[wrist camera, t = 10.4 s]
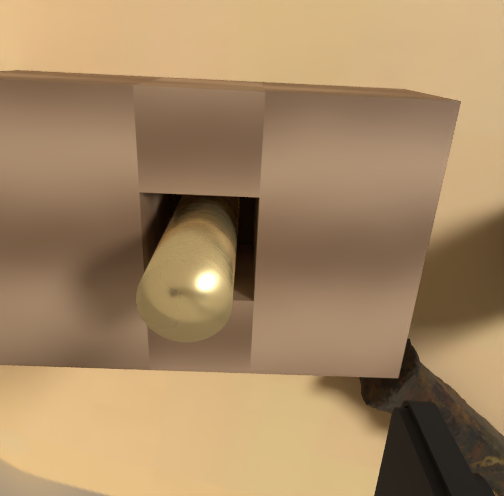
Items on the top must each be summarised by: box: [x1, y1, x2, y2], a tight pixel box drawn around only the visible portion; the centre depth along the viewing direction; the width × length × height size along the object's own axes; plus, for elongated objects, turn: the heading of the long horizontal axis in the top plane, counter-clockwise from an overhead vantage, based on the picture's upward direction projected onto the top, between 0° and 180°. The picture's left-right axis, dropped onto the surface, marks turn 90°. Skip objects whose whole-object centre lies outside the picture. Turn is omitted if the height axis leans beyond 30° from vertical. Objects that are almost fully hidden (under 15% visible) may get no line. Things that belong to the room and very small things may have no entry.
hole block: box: [0, 70, 461, 378], centre depth 20 cm, size 12×18×6 cm, turn 87°
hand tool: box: [360, 339, 504, 496], centre depth 27 cm, size 19×4×5 cm, turn 45°
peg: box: [136, 194, 240, 342], centre depth 18 cm, size 3×3×10 cm
